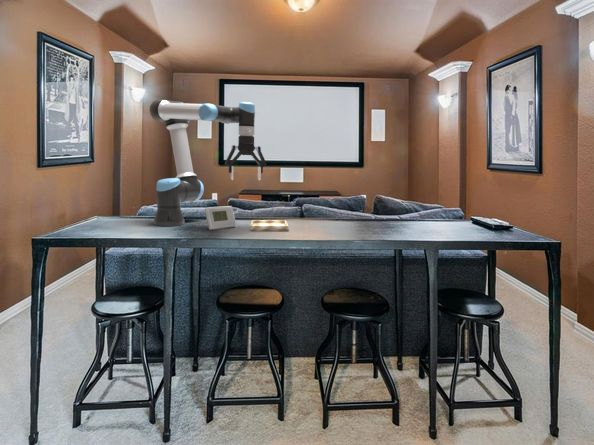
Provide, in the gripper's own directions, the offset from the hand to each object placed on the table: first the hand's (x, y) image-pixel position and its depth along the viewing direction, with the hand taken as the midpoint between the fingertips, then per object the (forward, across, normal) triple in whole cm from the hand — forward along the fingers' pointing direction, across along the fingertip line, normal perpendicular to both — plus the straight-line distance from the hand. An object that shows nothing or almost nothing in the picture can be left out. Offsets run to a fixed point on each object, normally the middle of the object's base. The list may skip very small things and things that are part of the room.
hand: (245, 180), depth 212 cm
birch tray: (+24, +12, -3) cm, 27 cm away
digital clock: (+24, -11, +3) cm, 27 cm away
